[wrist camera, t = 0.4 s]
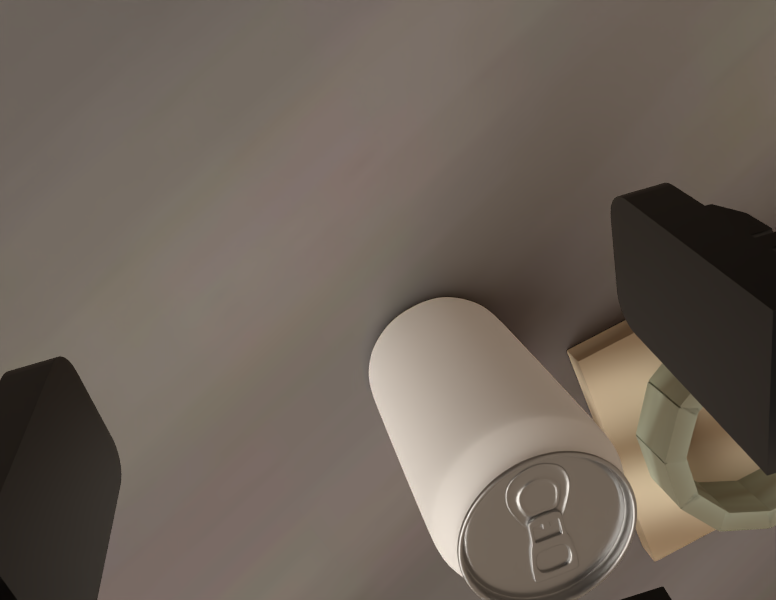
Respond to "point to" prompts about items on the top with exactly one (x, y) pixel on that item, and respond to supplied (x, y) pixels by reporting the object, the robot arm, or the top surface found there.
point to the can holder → (669, 446)
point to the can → (499, 456)
